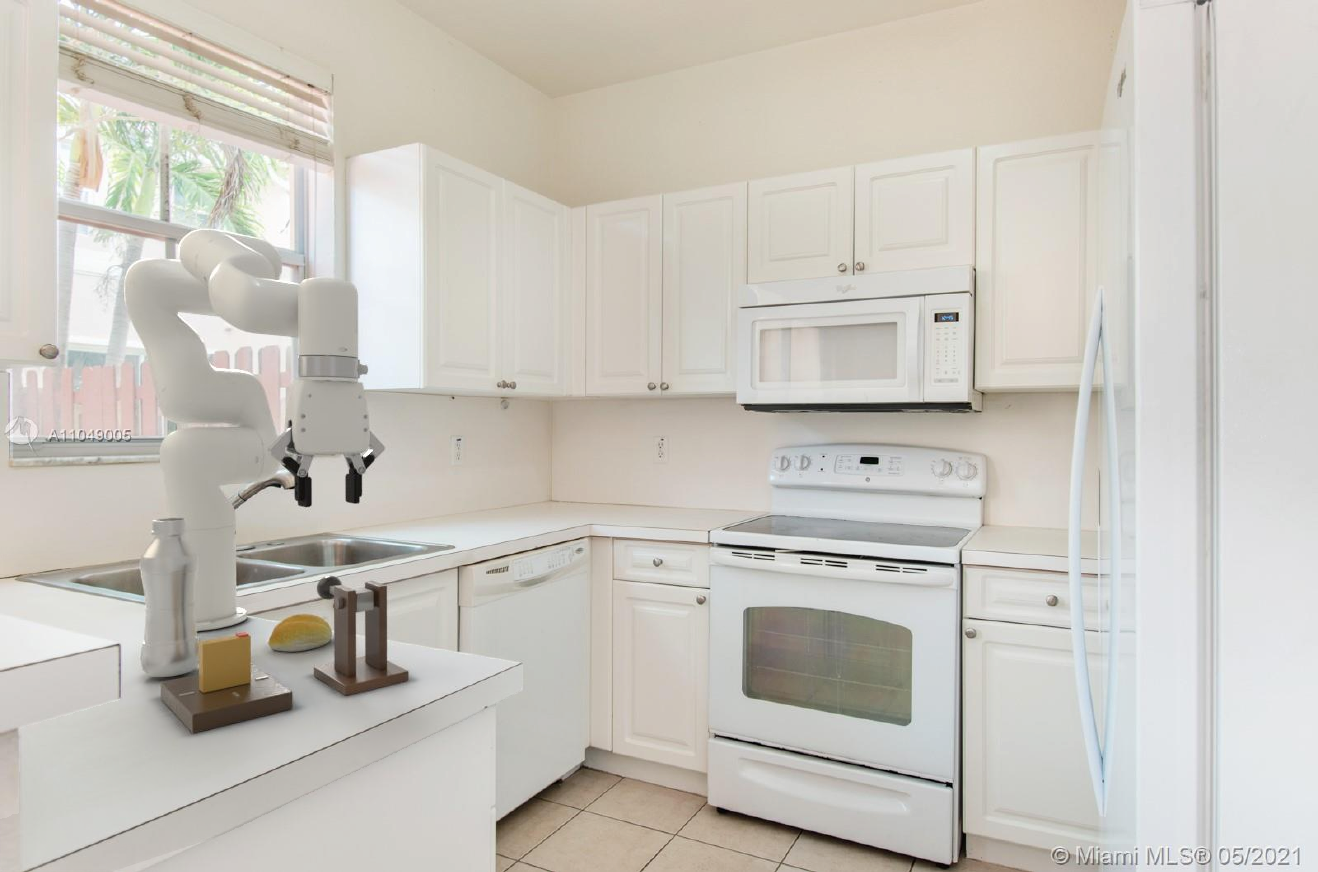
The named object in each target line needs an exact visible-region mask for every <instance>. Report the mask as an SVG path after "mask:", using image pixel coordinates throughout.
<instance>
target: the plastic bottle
mask: <svg viewBox="0 0 1318 872" xmlns="http://www.w3.org/2000/svg"><path fill="white" fill-rule="evenodd" d="M185 533H187V529H186V518H167V517H166V518H164V517H163V518H157V519H153V520H152V530H151V535H152V536H153V540H152V541H151V542H150V544H149V545H148V546H147V547H146V549H145V550H144V551H143V553H142V555H141V557H140V558H139V571H140V578H141V583H142V588H143V595H144V604H145V607H144V608H145V609H144V610H145V621H144V632H143V633H144V634H143V635H144V636H143V641H142V646H141V650H140V651H141V652H140V664H141V668H142V670H143V672H144V673H145V674H146V675H147V676H148V677H151V678H165V677H166V678H171V677H172V678H173V677H175V676H179V675H184V674H188V673H190V672H193V671H194V670H195V669H196V668H197V666H199V642H200V637H199V635H198V631H197V628H196V619H195V610H194V608H195V602H194V599H195V586H196V579H197V572H198V565H199V557H198V555H197V552H196V550H195V549H194V548H193V546H192V545H191V544H190V543H189V542H188V540H187V539H186V538H185V535H184V534H185Z"/></svg>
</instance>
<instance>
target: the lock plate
mask: <svg viewBox="0 0 1318 872" xmlns="http://www.w3.org/2000/svg"><path fill="white" fill-rule="evenodd" d="M160 699H161V701H162V702H163V703H164V704H165V705H166V706H167V707H168V708H169V709H170V710H171V711H172V713H173V714H174V715H175V716H176V717H177V718H178V719H179V720H180V721H181V722H182V723H183V724H184V726H185V727H187V729H189V731H190V732H191V734H195V733H200V732H203V731H207V730H212V729H216V728H220V727H224V726H228V725H233V724H236V723H240V722H245V721H248V720H252V719H257V718H261V717H265V716H269V715H274V714H278V713H281V712H284V711H285V712H286V711H290V710H292V709H293V691H292V690H291V689H289V688H288V687H286V686H285V685H284V684H282V683H280V682H279V681H278V680H276V679H275V678H274V677H273V676H271V675H269V674H268V673H267V672H265V671H263V670H262V669H261V668H259V667H258V666H257V665H255V664H254V663H251V683H247V684H243V685H238V686H233V687H229V688H224V689H219V690H215V691H210V692H205V693H203V692H201V691H200V690H199V674H194V675H190V676H185V677H180V678H175V679H170V680H165V681H161V682H160Z"/></svg>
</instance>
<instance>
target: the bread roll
mask: <svg viewBox="0 0 1318 872" xmlns="http://www.w3.org/2000/svg"><path fill="white" fill-rule="evenodd" d="M332 637H333V631H332V627H331V626H330V624H329V623H328V621H326V620H325V619H324V618H322V617H320V616H318V615H314V614H310V613H309V614H308V613H301V614H300V613H299V614H293V615H290V616H288V617H286V618H284V619H283V620H281V621H280V622H279V623H277V624H276V626H274V628H273V629H272V632H271V634H270V637H269V640H268V645H269V647H270V648H271V649H272V650H274V651H278V652H286V653H287V652H288V653H293V652H295V653H296V652H304V651H309V650H312V649H317V648H319V647H322V646H324V645H325V646H326V644H328V643H329V642H330V641H331V639H332Z"/></svg>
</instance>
